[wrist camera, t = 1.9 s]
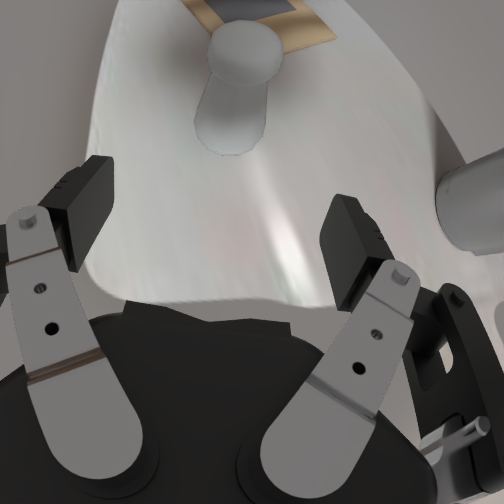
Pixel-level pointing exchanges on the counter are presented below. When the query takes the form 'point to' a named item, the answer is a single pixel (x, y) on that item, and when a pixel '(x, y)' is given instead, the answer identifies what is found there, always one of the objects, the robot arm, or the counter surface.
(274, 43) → the salt shaker
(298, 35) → the wooden board
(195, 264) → the counter surface
